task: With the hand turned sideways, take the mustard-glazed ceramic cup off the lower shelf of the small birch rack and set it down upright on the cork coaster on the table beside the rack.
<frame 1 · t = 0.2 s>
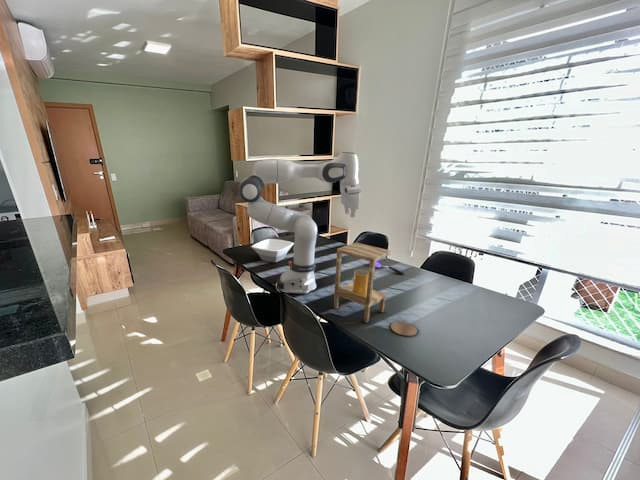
hand: (349, 215, 146), 39 cm above the table, tool pointing down, fingers open, 8 cm apart
cup: (359, 292, 131), point 9 cm above the table, touching rack
coaster: (403, 329, 119), on the table
bowl: (273, 258, 203), on the table
spatula: (385, 269, 181), on the table
rack: (358, 309, 135), on the table
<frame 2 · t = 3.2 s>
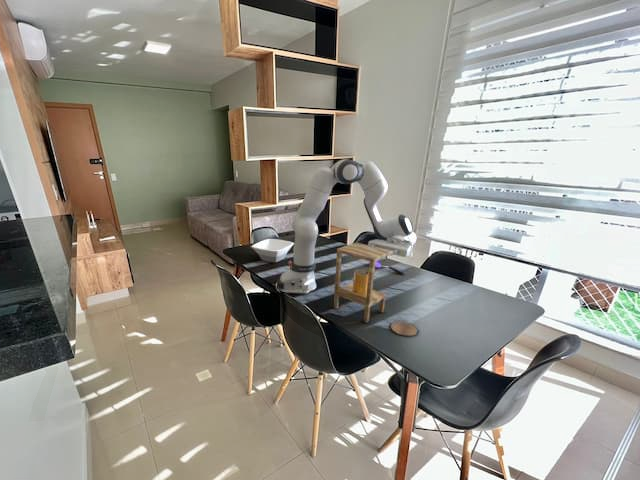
hand: (380, 251, 134), 25 cm above the table, tool horizontal, fingers open, 8 cm apart
nothing on the table moved.
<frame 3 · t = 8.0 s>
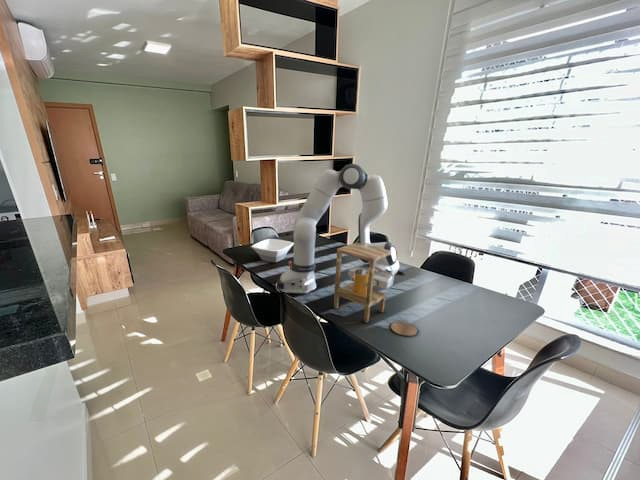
hand: (359, 282, 129), 15 cm above the table, tool horizontal, fingers closed on cup, 6 cm apart
cup: (359, 292, 131), point 9 cm above the table, touching gripper, rack
everything else where it was.
when the fingers open (6 cm above the table, at t = 18.2 s): cup stays where it is, resting on coaster.
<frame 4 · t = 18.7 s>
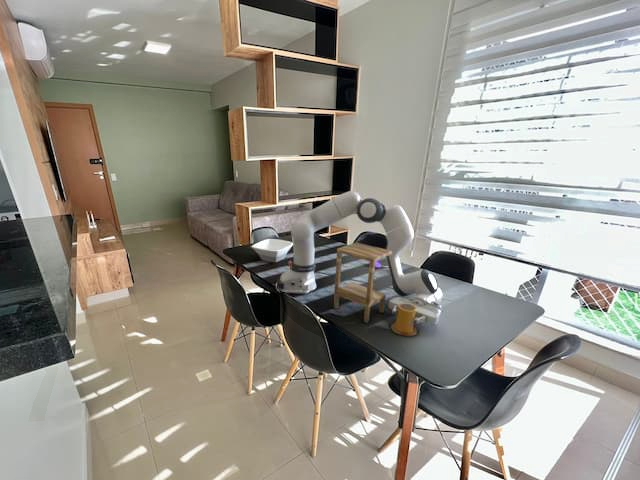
hand: (404, 316, 116), 6 cm above the table, tool horizontal, fingers open, 8 cm apart
cup: (403, 328, 119), resting on coaster
everything else where it was.
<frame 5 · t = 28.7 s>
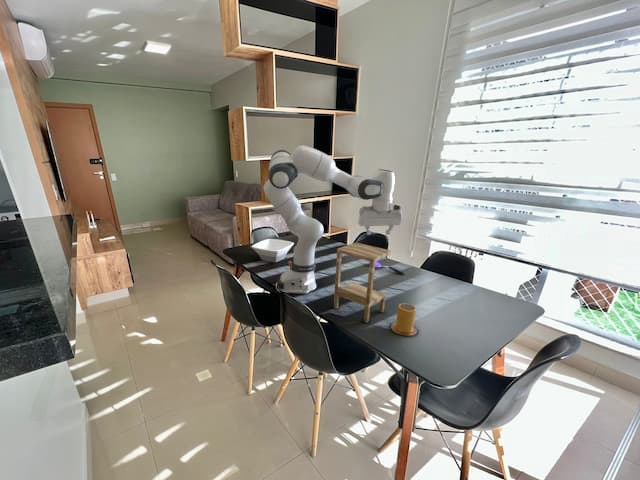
hand: (378, 234, 140), 31 cm above the table, tool pointing down, fingers open, 8 cm apart
nothing on the table moved.
at the end: cup inside the target area (0.1 cm from its centre), resting on coaster; cup tilted 0°; the gripper is holding nothing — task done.
